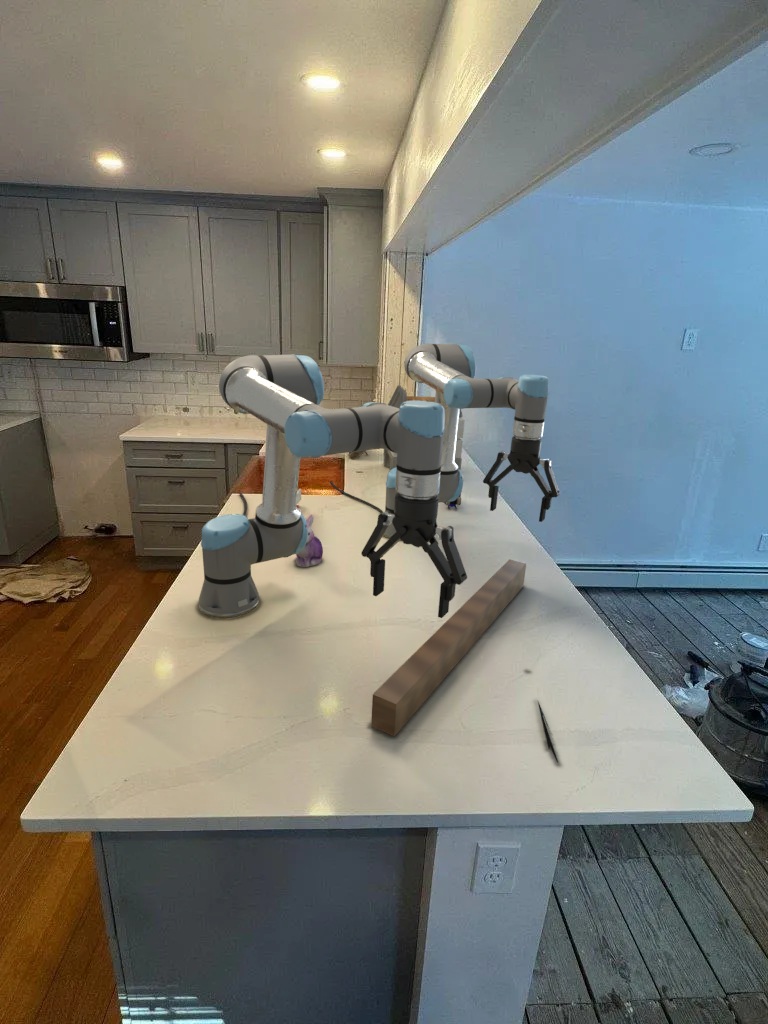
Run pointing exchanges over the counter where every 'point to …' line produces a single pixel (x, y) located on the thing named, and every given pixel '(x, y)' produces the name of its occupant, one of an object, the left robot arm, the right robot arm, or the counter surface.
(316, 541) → the figurine
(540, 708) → the feather
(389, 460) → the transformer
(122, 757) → the counter surface
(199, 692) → the counter surface
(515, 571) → the bar
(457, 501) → the figurine character
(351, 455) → the fossil
